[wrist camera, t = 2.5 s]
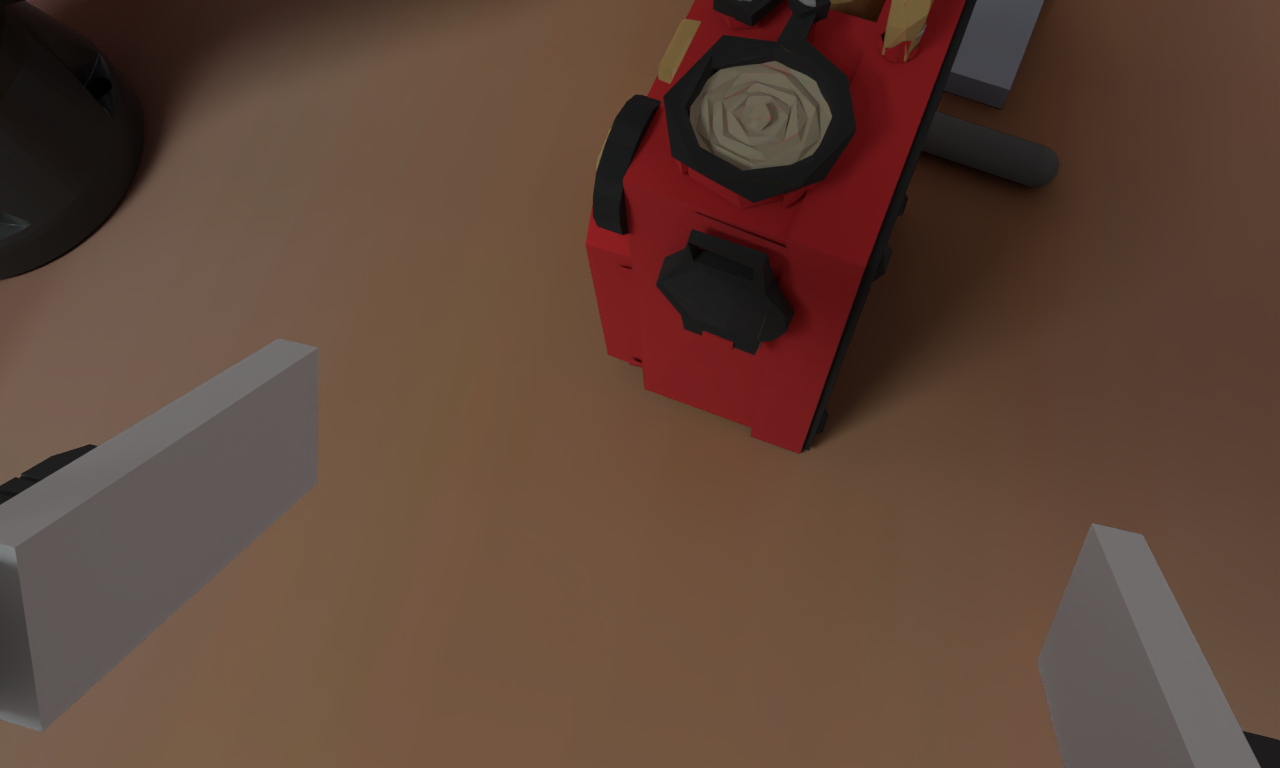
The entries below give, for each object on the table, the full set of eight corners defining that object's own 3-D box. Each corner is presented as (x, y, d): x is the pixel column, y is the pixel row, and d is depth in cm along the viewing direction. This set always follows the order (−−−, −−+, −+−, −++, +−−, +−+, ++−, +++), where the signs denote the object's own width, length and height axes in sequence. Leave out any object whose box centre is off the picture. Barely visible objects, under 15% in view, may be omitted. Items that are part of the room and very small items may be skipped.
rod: (673, 77, 51) (672, 51, 49) (688, 49, 52) (688, 22, 50) (1044, 200, 47) (1058, 177, 46) (1055, 168, 48) (1069, 144, 46)
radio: (717, 139, 50) (733, -234, 31) (908, 199, 48) (1045, -160, 29) (595, 403, 45) (528, 146, 26) (803, 482, 43) (890, 265, 24)
